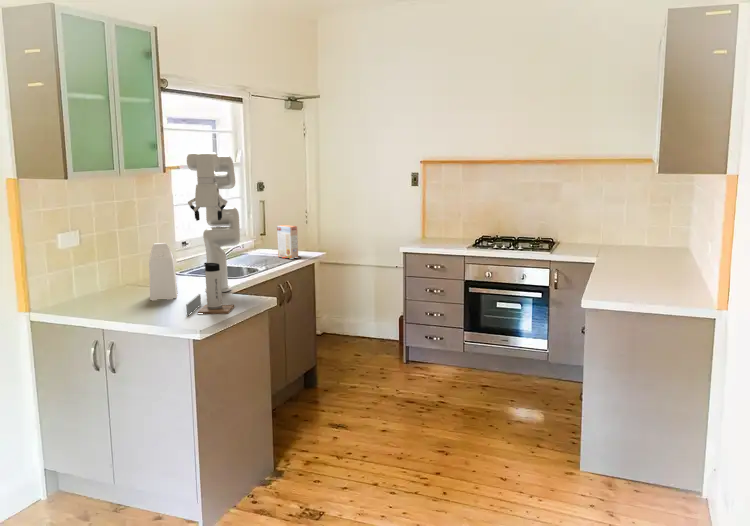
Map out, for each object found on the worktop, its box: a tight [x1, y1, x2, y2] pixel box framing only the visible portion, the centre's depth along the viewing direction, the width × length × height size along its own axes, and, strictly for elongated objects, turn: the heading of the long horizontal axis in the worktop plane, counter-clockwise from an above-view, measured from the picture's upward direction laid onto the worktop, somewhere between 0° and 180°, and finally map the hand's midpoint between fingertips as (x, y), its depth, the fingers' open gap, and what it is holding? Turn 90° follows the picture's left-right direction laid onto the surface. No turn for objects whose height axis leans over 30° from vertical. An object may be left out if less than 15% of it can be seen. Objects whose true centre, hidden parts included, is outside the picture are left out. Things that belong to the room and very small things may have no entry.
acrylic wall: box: [185, 293, 202, 316], centre depth 293 cm, size 20×1×5 cm, turn 0°
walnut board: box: [197, 303, 235, 315], centre depth 293 cm, size 13×13×1 cm
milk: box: [148, 242, 179, 301], centre depth 319 cm, size 12×12×26 cm
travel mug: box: [203, 262, 223, 310], centre depth 291 cm, size 6×7×20 cm
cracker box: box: [276, 224, 299, 259], centre depth 427 cm, size 14×6×21 cm, turn 44°
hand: (208, 220), depth 298 cm, fingers open, 9 cm apart
